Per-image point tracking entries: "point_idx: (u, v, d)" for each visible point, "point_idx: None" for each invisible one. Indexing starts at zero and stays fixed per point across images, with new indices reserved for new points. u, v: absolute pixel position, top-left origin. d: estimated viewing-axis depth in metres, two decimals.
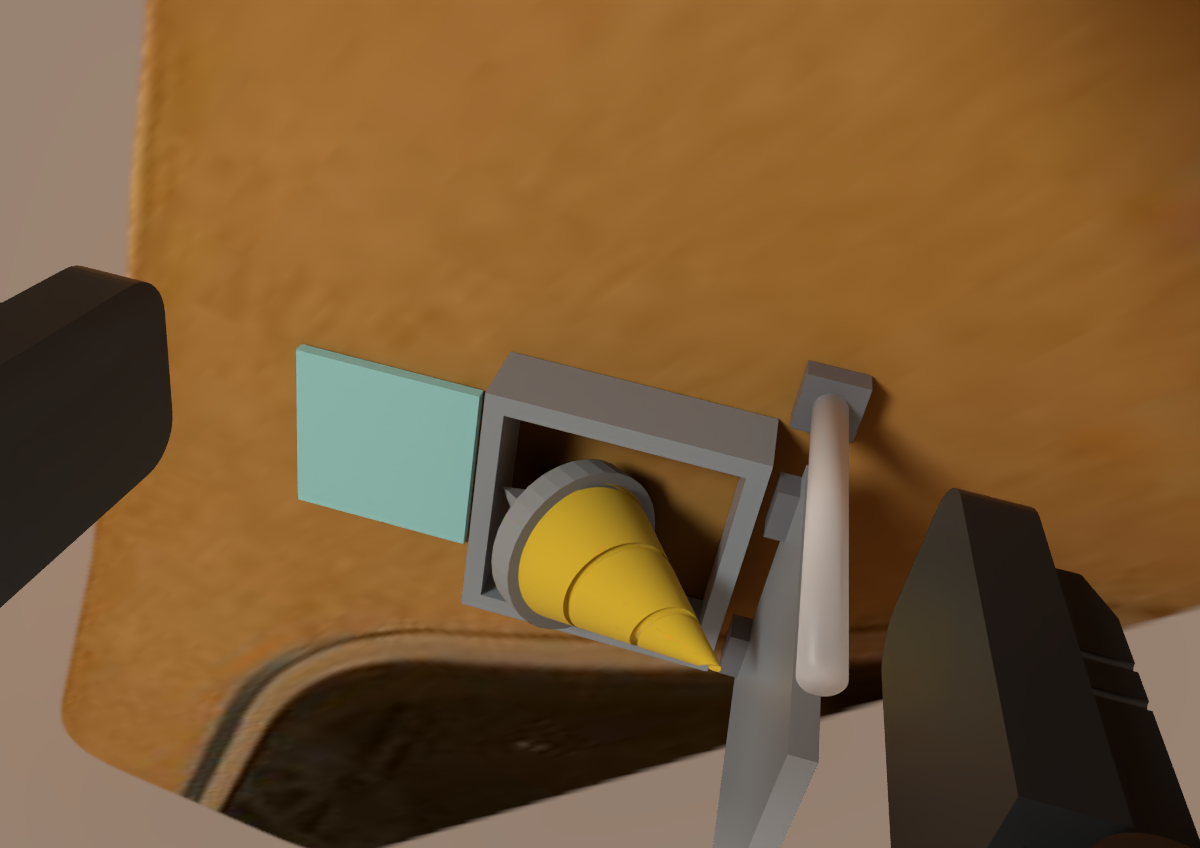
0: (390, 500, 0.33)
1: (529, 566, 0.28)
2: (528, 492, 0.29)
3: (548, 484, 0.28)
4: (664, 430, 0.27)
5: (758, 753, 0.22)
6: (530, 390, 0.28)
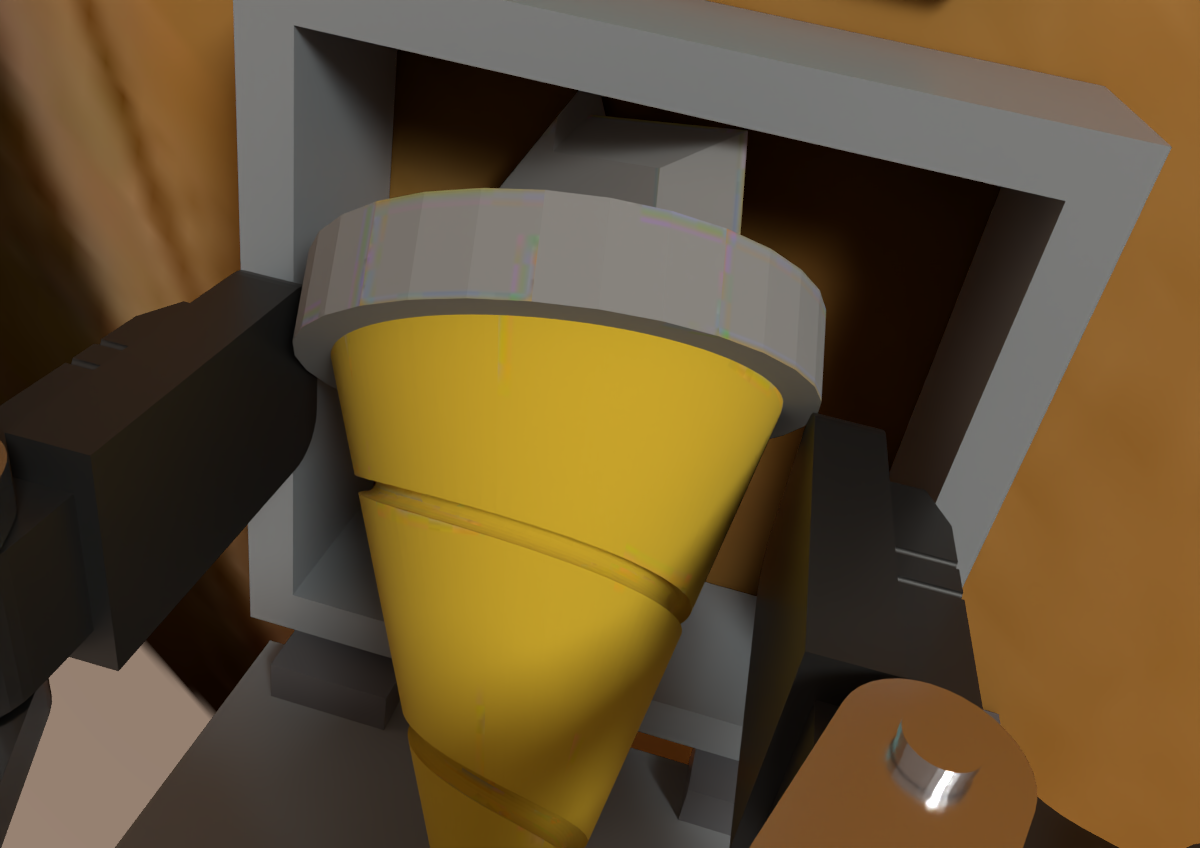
0: None
1: (581, 366, 0.08)
2: (790, 281, 0.09)
3: (813, 335, 0.09)
4: None
5: None
6: None
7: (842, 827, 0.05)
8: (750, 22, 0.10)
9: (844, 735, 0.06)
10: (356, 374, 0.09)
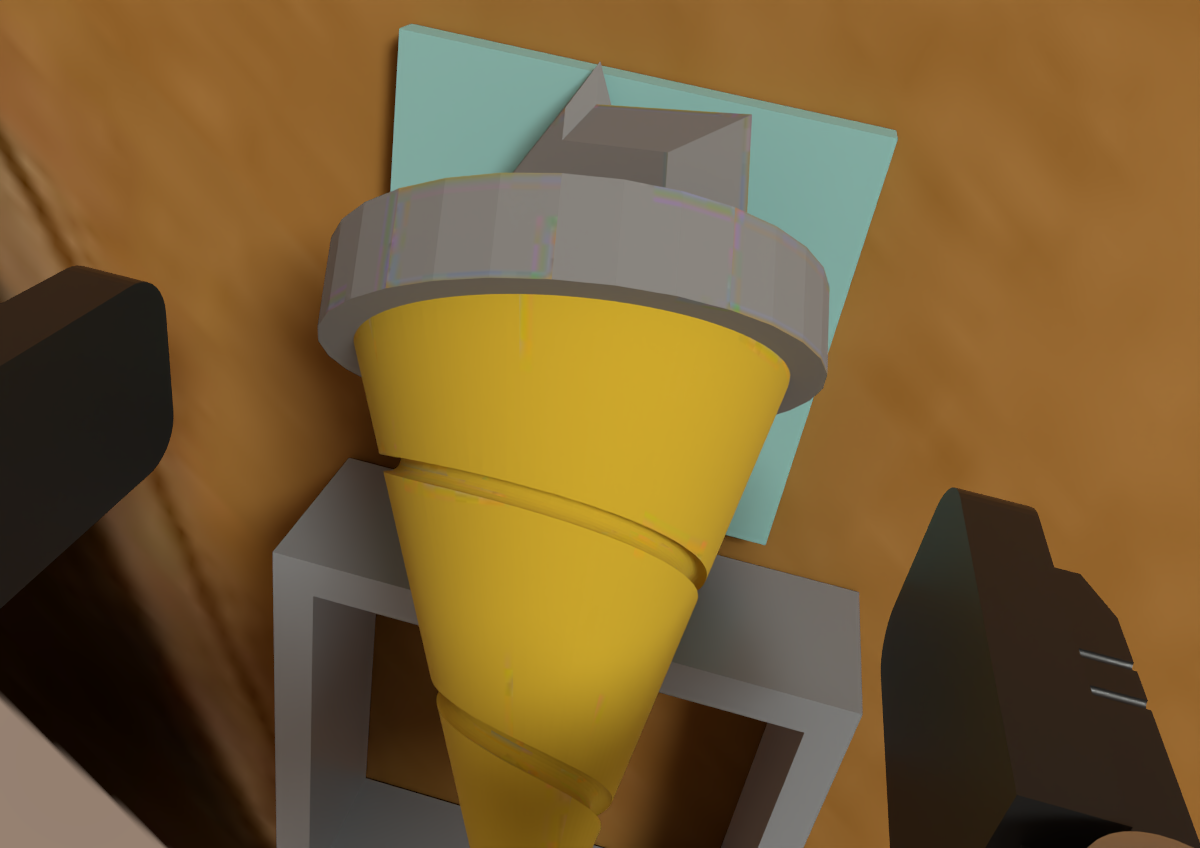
0: None
1: (599, 341, 0.08)
2: (795, 259, 0.09)
3: (818, 309, 0.09)
4: None
5: None
6: None
7: None
8: None
9: None
10: (381, 356, 0.09)
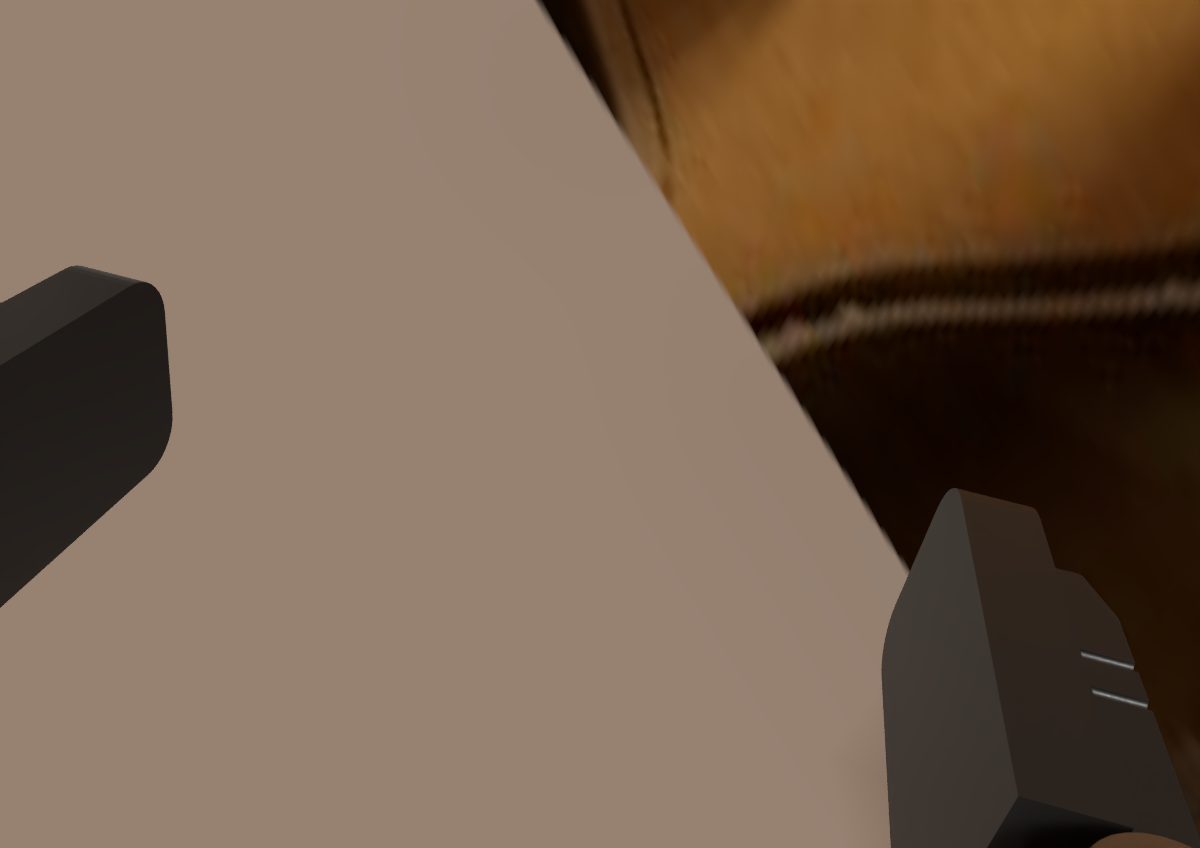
0: None
1: None
2: None
3: None
4: None
5: None
6: None
7: None
8: None
9: None
10: None
